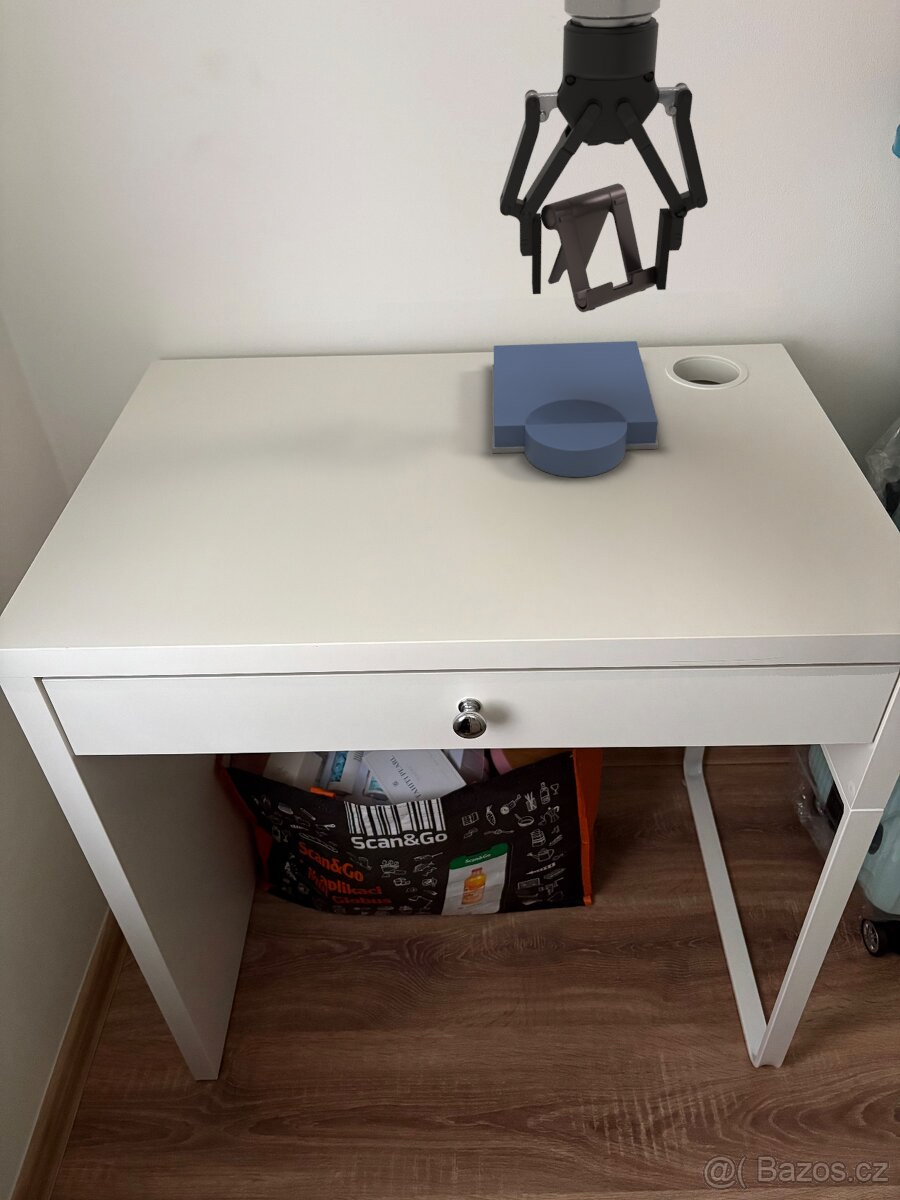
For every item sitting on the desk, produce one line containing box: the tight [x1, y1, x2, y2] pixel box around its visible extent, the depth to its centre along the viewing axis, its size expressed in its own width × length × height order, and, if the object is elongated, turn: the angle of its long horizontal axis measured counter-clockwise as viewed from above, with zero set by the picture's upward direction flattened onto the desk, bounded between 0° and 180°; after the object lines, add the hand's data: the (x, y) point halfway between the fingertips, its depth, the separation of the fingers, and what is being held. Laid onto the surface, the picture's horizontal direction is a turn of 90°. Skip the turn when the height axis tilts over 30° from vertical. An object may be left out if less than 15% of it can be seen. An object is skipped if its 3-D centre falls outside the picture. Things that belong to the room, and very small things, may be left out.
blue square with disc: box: [491, 340, 659, 478], centre depth 101 cm, size 23×16×3 cm
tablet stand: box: [540, 182, 657, 313], centre depth 88 cm, size 9×8×8 cm
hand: (597, 286), depth 91 cm, fingers closed on tablet stand, 11 cm apart
